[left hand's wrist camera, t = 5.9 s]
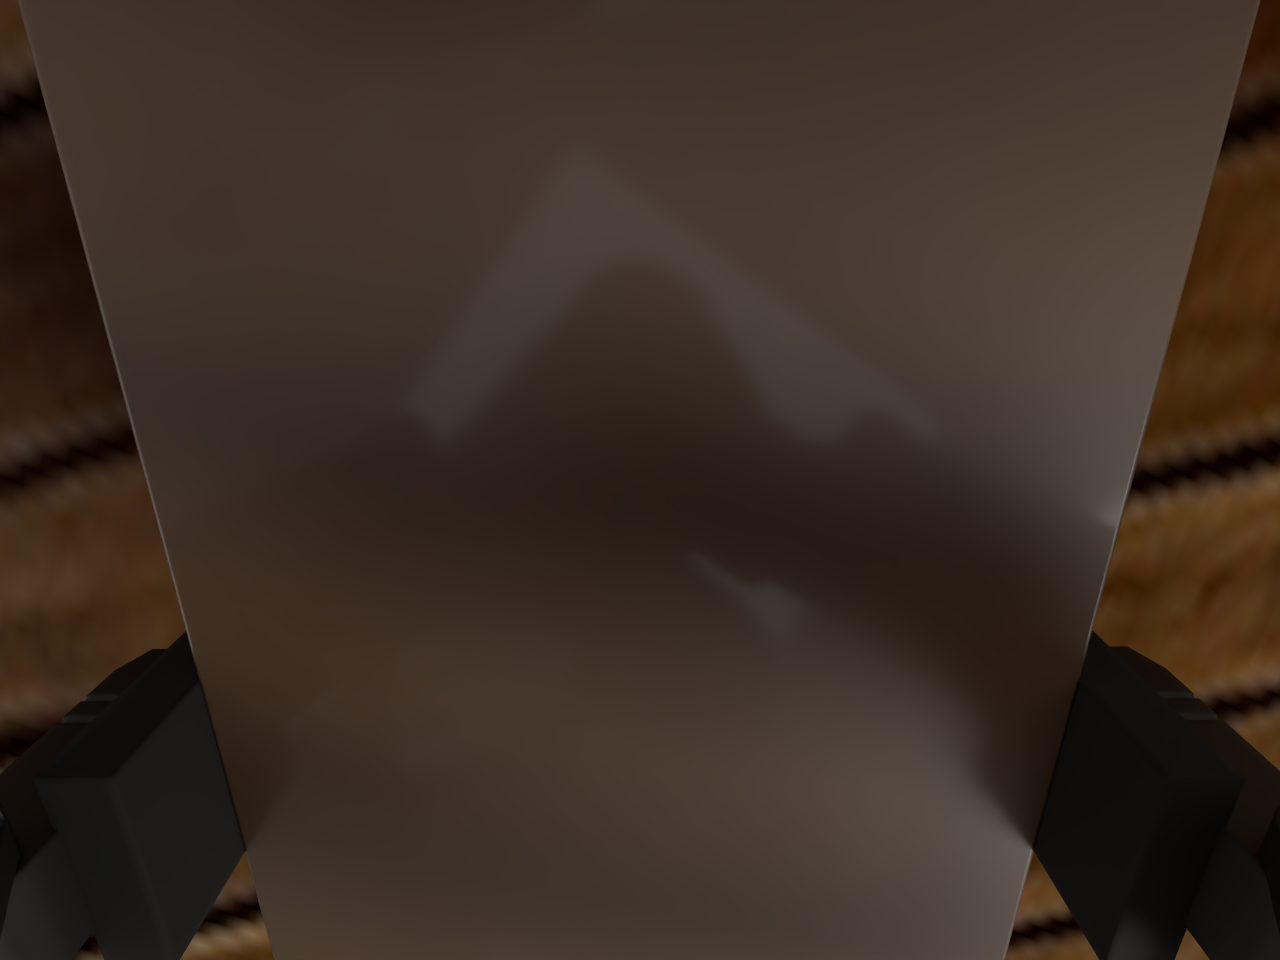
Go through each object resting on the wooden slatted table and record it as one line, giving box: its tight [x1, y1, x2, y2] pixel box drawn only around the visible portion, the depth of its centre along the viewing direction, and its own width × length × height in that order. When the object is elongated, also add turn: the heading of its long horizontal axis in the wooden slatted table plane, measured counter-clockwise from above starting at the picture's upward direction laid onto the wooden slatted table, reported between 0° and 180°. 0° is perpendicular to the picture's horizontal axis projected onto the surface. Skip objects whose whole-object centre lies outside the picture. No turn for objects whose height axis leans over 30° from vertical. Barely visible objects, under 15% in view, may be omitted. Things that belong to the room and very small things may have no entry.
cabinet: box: [17, 0, 1260, 960], centre depth 13 cm, size 18×10×12 cm, turn 0°
